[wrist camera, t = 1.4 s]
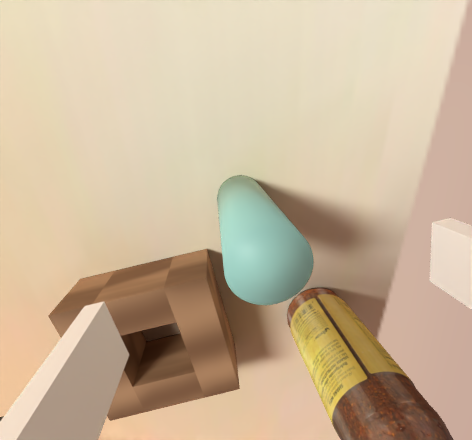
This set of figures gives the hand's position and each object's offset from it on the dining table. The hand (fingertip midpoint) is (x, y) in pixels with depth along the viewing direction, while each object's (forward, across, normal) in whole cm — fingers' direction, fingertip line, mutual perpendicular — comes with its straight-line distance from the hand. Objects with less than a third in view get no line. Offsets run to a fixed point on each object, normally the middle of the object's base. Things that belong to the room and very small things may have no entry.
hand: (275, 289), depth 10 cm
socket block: (+13, -10, -10) cm, 19 cm away
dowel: (+13, 0, 0) cm, 13 cm away
